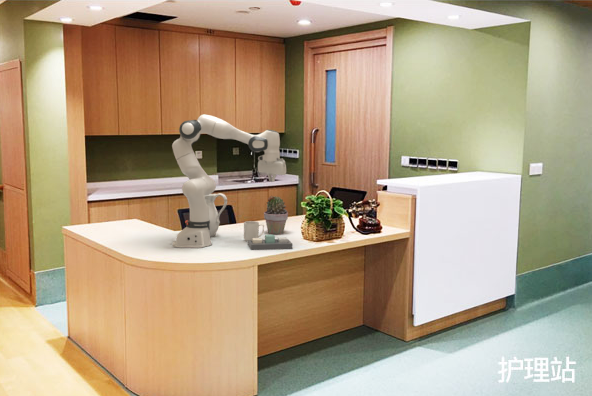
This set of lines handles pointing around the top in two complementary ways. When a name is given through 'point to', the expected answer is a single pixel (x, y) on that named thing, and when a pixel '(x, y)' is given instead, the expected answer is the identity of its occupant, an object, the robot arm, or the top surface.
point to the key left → (256, 240)
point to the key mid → (269, 238)
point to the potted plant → (275, 215)
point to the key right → (282, 240)
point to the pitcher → (214, 211)
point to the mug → (251, 230)
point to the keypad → (269, 245)
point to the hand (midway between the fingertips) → (271, 181)
